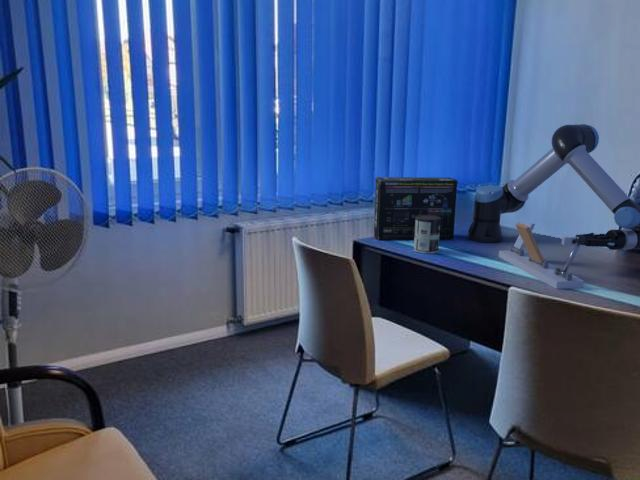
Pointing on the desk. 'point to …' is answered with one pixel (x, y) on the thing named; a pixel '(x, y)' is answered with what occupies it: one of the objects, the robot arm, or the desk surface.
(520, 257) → the switch panel
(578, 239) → the grey metal toggle
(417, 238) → the coffee can
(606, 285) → the desk surface
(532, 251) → the brown paddle
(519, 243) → the pale blue paddle
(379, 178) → the router box
